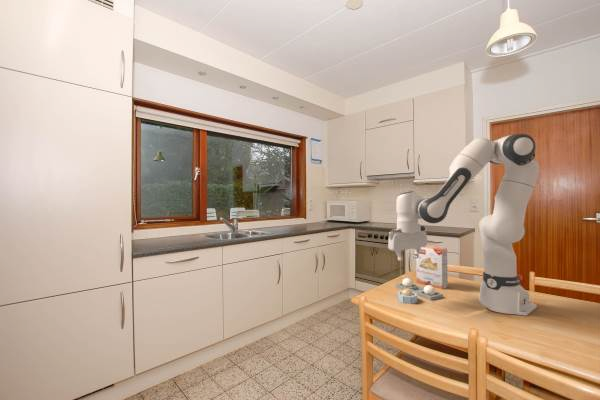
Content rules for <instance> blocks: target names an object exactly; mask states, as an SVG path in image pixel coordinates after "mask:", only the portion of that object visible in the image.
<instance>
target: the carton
mask: <svg viewBox="0 0 600 400" xmlns="http://www.w3.org/2000/svg"><path fill="white" fill-rule="evenodd" d="M395 288H397V289H400V290H401V291H402V290H404V289H410V290H411V291H412V292H415V293H417V297H418V296H419V297H420V298H423V299H426V300H428V301H434V300H438V299H442V298H444V294H443V293H440V292H438V291H435V294H434V295H433V296H429V295H426V294H425V293H424V287H422V286H420V285H417V284H414V283H413V285H412V287H409V288H407V287H404V286H403V284H402V282H401V283H395Z"/></svg>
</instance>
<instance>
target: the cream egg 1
mask: <svg viewBox="0 0 600 400" xmlns="http://www.w3.org/2000/svg"><path fill="white" fill-rule="evenodd" d="M401 283H402V284H403V286H404V287H407V288H409V287H412V285H413V284H414V282H413V280H412V279H411V278H410V277H406V278H403V280H402V282H401Z"/></svg>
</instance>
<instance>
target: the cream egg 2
mask: <svg viewBox="0 0 600 400" xmlns="http://www.w3.org/2000/svg"><path fill="white" fill-rule="evenodd" d="M423 288H424V293H425V294H426V295H429V296H433V295H434V294H435V292H436V289H435V287H433V286H431V285H424V287H423Z"/></svg>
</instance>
